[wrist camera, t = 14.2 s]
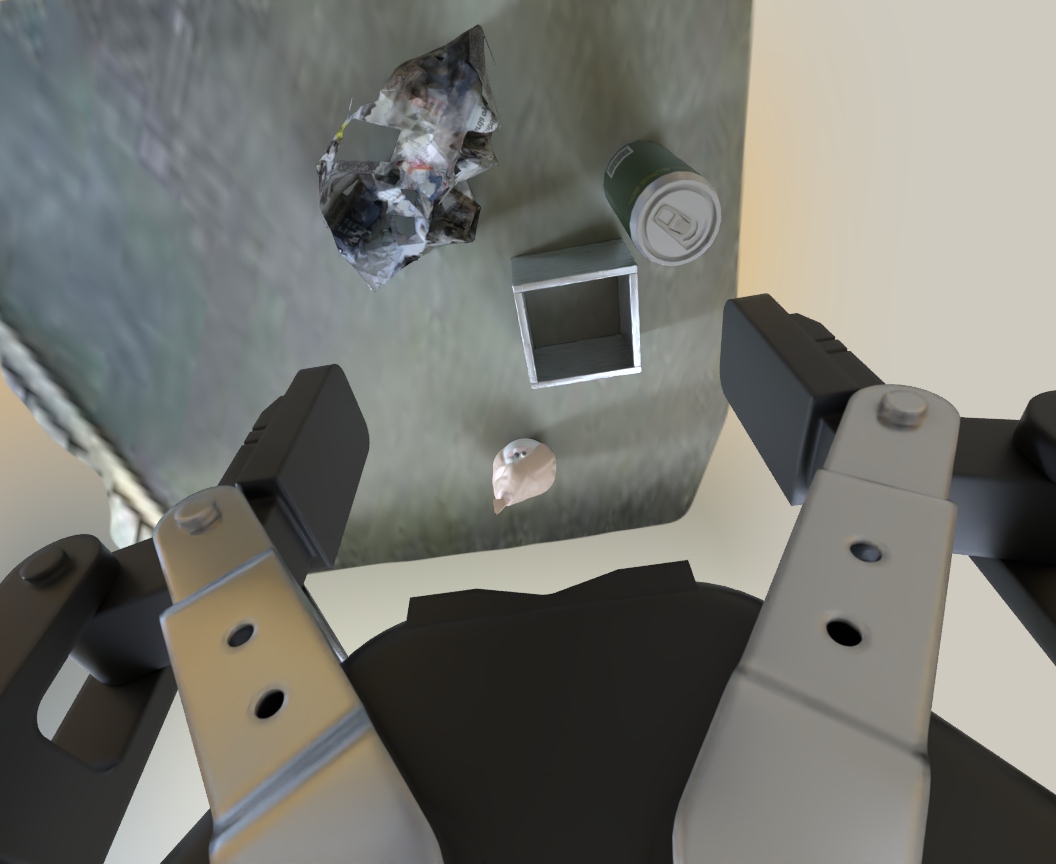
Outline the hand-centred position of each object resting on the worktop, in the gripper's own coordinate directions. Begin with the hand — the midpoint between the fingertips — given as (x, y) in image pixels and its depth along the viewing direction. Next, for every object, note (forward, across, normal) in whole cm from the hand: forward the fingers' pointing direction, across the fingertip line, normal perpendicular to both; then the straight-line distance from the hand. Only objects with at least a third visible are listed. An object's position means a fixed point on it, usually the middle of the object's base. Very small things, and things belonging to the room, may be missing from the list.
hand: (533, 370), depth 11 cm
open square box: (+34, -3, +14) cm, 37 cm away
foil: (+34, +7, +1) cm, 35 cm away
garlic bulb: (+34, +4, +30) cm, 46 cm away
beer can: (+34, -9, +5) cm, 36 cm away
